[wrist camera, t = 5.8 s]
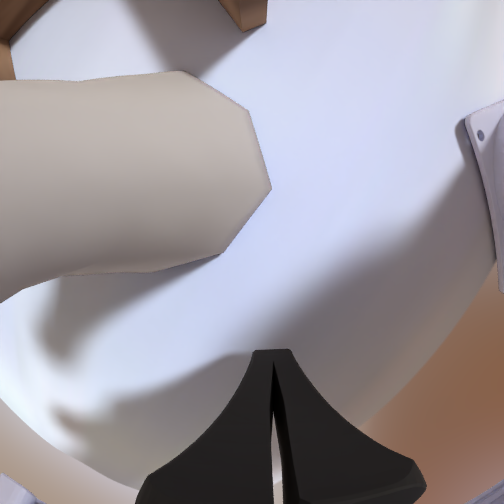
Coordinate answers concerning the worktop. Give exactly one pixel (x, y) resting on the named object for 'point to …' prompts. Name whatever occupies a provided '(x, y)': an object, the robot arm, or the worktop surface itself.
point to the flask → (121, 175)
